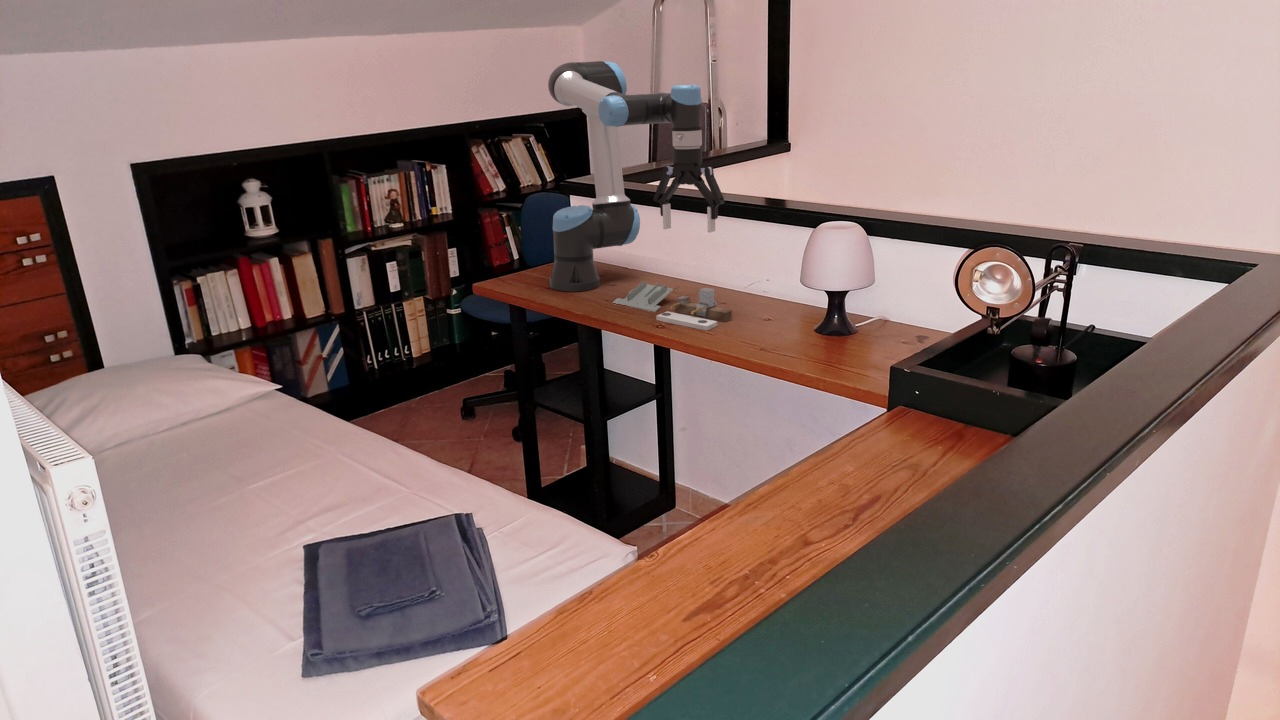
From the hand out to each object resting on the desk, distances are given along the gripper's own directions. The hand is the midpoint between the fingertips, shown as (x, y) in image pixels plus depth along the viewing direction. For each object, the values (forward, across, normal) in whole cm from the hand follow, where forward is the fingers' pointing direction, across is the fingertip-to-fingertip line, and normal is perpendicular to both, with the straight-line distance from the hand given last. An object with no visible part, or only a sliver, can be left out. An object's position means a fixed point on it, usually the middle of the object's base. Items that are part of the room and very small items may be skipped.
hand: (689, 230), depth 240 cm
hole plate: (+23, +3, -7) cm, 24 cm away
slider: (+22, +4, -1) cm, 23 cm away
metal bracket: (+23, -17, +4) cm, 29 cm away
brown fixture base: (+23, +3, -1) cm, 23 cm away
